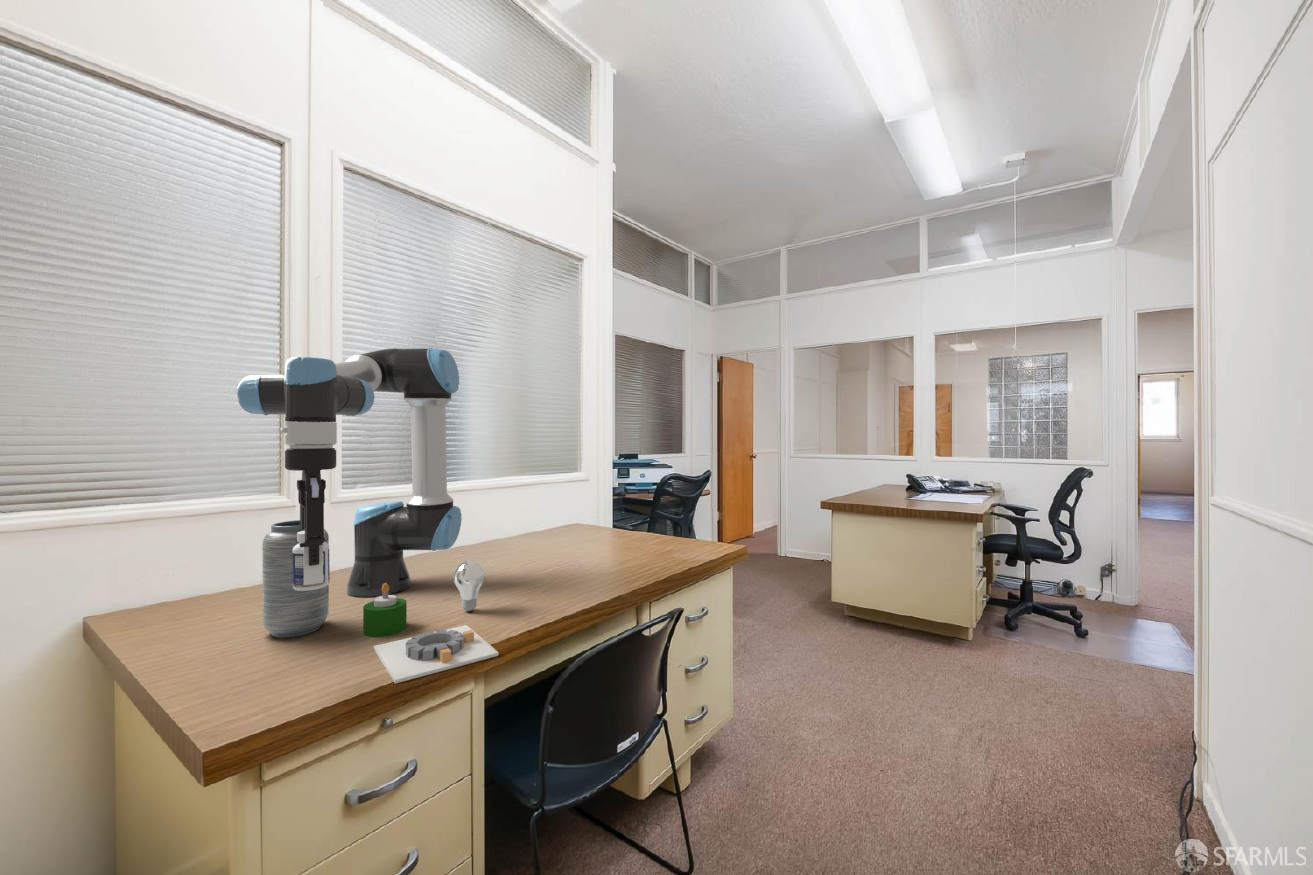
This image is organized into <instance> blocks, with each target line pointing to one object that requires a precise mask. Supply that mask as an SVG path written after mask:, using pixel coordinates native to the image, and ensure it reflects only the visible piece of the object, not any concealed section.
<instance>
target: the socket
mask: <svg viewBox="0 0 1313 875" xmlns="http://www.w3.org/2000/svg"><path fill="white" fill-rule="evenodd" d="M373 650H374V652H375V654H376V655H377V657H378V658H379V660H380V661H381V663H382V665H383V666H384V668H385V669H386V671H387V673H388V675H389V676H390V678H391V679H392V681H393V683H394V684H399V683H402V682H406V681H412V680H413V679H418V678H422V677H424V676H428V675H432V674H436V673H440V672H444V671H447V670H451V669H454V668H459V667H462V666H465V665H470V664H474V663H476V662H481V661H484V660H488V659H491V658H496V657H498V656H499V654H500V653H499V652H498V651H497V649H496V648H494V647H493V646H492V645H491V644H489V643H488V642H487V641H486V640H485V639H484V638H482V637H481V636H480V635H479V634H478V633H477V632H475V630H473V629H472V628H471V627H469V625H467V624H465V625H460V626H456V627H452V628H448V629H438V630H436V631H434V630H431V631H426V632H422V634H419V633H418V634H416V635H414V636H411V637H408V638H403V639H398V640H394V641H390V642H386V643H381V644H377V645H373Z"/></svg>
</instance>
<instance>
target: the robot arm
mask: <svg viewBox="0 0 1313 875" xmlns="http://www.w3.org/2000/svg"><path fill="white" fill-rule="evenodd" d="M284 366H285V367H284V373H279V374H273V375H272V374H271V375H267V374H258V375H247V376H245V377H244V378H242V380H241V381H240V382H239V383H238V385H237V389H236V395H237V402H238V404H239V405H240V407H241V409H243V410H244V411H245V412H246V413H249V414H251V415H253V414H254V415H264V416H269V415H284V422H285V424H284V425H285V427H281V428H280V429H279V430H280V433H281V434H286V435H284V439H285V440H284V441H285V442H284V444H285V445H286V446H289V448H286V450H284V468H285V469H286V470H287V471H292V472H294V471H299V472H300V471H301V479H299V480H296V488H297V491H298V493H297V496H298V497H297V498H298V504H299V520H300V529H299V532H300V531H305V542H304V543H300V547H304V585H310V584H316V583H323V543H324V541H325V538H324V529H325V511H324V510H325V502H326V500H325V499H326V498H325V490H326V488H327V482H326V480H324V479H323V478H322V473H321V471H322V470H323V471H325V470H327V471H328V470H333V469H335V468H336V467H337V449H336V448H335V447H334V445H337V443H338V440H337V438H338V434H337V432H338V431H337V429H338V425H337V424H338V423H337V416H346V417H348V416H349V417H350V416H351V417H354V416H359V415H363V414H366V413H367V412H368V411H370V410H371V408H372V407H373V405H374V402H375V398H376V397H375V392H378V393H379V392H382V393H383V392H385V393H401V394H402V393H403V400H404V402H406V403H407V404H408V405H409V406H410V427H411V428H410V433H411V434H410V436H411V440H410V441H411V476H412V477H411V483H412V495H411V497H409V498H408V499H407V501H406V506H405V505H404V501H401V500H394V501H386V502H379V503H374V504H368V505H364V506H360V507H359V508H357V509H356V511H355V513H354V521H353V522H354V523H353V527H354V528H353V529H354V530H353V532H354V543H353V544H354V562H353V566H352V569H351V572H350V575H349V578H348V581H347V583H346V593H347V595H349V596H352V597H360V598H363V597H364V598H365V597H366V598H368V597H370V598H371V597H379V596H382V586H383V584H384V583H387V584H388V586H389V591H388V595H393V594H395V593H399V592H402V591H404V590H407V589H408V588H409V587H410V586H411V576H410V573H409V570H408V567H407V565H406V563H405V559H404V551H432V552H435V551H443V550H444V551H446V550H448V549H450V548H451V547H453V546H454V545H455V543H456V541H457V539H458V537H459V534H460V531H461V526H462V516H463V515H462V511H461V509H460V507H459V506H456V505H454V498H453V497H451V495H450V494H449V493H448V479H447V478H448V476H447V475H448V473H447V472H448V470H447V465H448V464H447V420H446V419H447V416H446V415H447V414H446V406H447V405H448V404H449V403H450V402H451V401H452V394H455V393H457V392H458V390H459V385H460V374H459V370H458V364H457V363H456V360H455V358H454V356H453V355H452V354H451V353H450V352H449V351H448V350H446V349H441V348H440V349H438V348H430V347H429V348H386V349H385V348H384V349H379V350H373V351H370V352H365V353H362V354H355V355H352V356H351V357H349V358H348V359H346V360H345V361H341V362H337V363H335V362H334V360H331V359H328V358H321V357H310V356H309V357H308V356H296V357H295V356H294V357H290V358H289V359H287V360H286V361H285V365H284ZM314 536H317V537H314Z"/></svg>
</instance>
